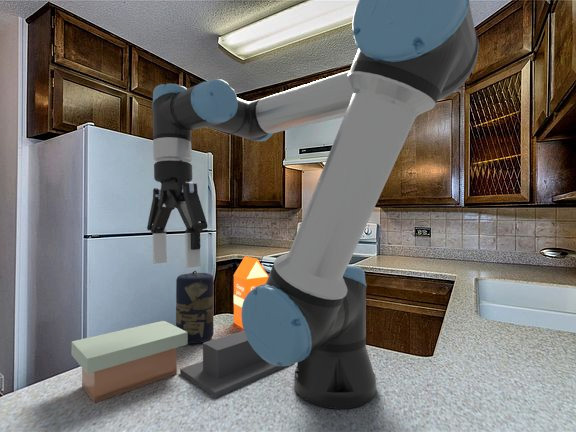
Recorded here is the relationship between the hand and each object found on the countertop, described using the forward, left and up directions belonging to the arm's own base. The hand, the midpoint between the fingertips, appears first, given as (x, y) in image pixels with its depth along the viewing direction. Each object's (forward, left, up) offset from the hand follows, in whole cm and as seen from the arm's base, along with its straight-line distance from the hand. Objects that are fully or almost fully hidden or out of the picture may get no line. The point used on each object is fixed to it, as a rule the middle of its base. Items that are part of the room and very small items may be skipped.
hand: (175, 264), depth 68 cm
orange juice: (+13, -30, -22) cm, 40 cm away
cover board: (+3, +8, -16) cm, 18 cm away
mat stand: (-8, -10, -22) cm, 26 cm away
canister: (+14, -12, -22) cm, 29 cm away
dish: (+3, +8, -22) cm, 24 cm away
